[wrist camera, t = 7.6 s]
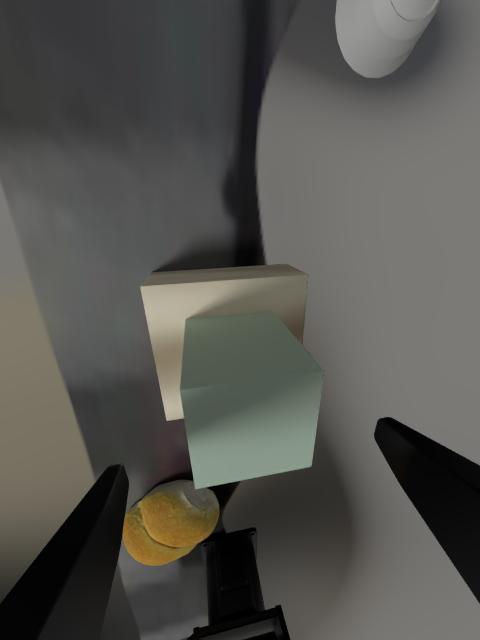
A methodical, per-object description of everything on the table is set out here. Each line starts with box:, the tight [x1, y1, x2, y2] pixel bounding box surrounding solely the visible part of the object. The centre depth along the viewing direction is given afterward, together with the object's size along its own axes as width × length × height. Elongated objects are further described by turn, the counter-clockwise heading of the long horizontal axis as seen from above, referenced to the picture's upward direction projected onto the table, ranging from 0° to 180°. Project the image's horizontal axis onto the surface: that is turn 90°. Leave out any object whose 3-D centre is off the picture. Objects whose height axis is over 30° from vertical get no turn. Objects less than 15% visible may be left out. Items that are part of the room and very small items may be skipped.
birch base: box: [140, 264, 308, 421], centre depth 16 cm, size 9×9×4 cm
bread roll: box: [123, 480, 219, 566], centre depth 23 cm, size 8×9×4 cm
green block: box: [180, 311, 324, 489], centre depth 12 cm, size 5×5×6 cm
